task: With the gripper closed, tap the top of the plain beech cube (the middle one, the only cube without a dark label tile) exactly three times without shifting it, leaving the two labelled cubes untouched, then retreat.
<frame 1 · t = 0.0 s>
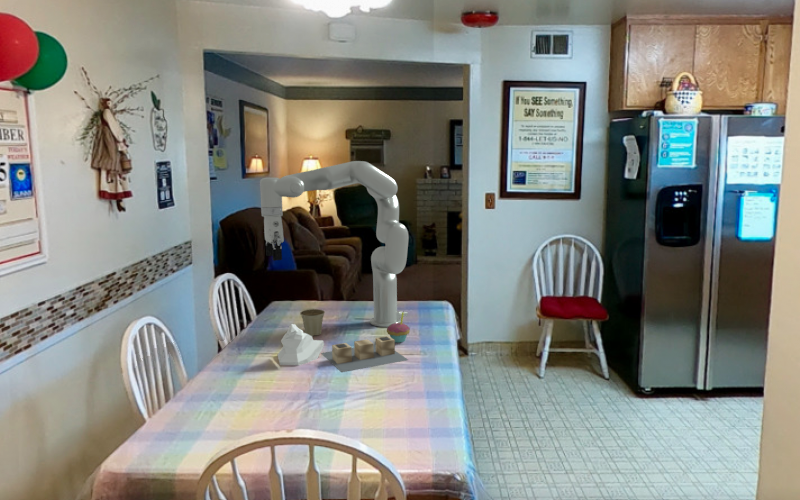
hand: (274, 257, 215), 31 cm above the table, tool pointing down, fingers open, 9 cm apart
cupcake: (398, 342, 217), on the table
digit block b: (342, 360, 196), point 1 cm above the table, touching mat
digit block a: (385, 352, 203), point 1 cm above the table, touching mat
mat: (364, 358, 200), on the table
white faceted lump: (297, 361, 198), on the table
plain block: (364, 356, 200), point 1 cm above the table, touching mat
flower pot: (313, 334, 227), on the table
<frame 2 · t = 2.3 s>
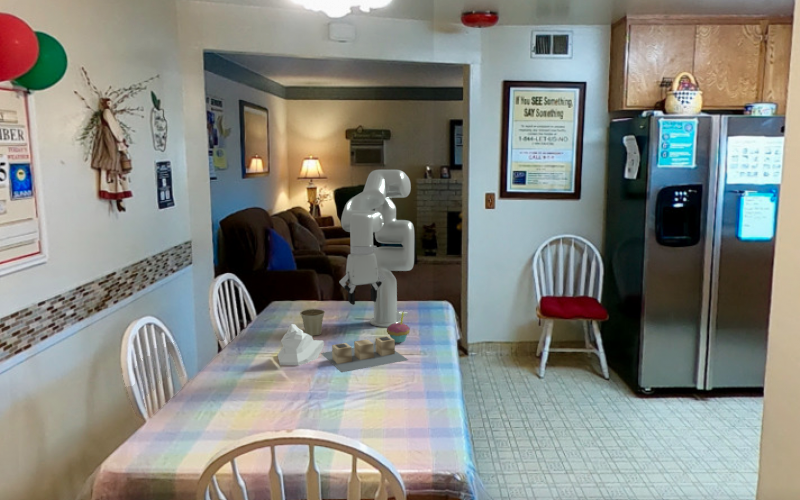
hand: (362, 302, 196), 20 cm above the table, tool pointing down, fingers open, 7 cm apart
nothing on the table moved.
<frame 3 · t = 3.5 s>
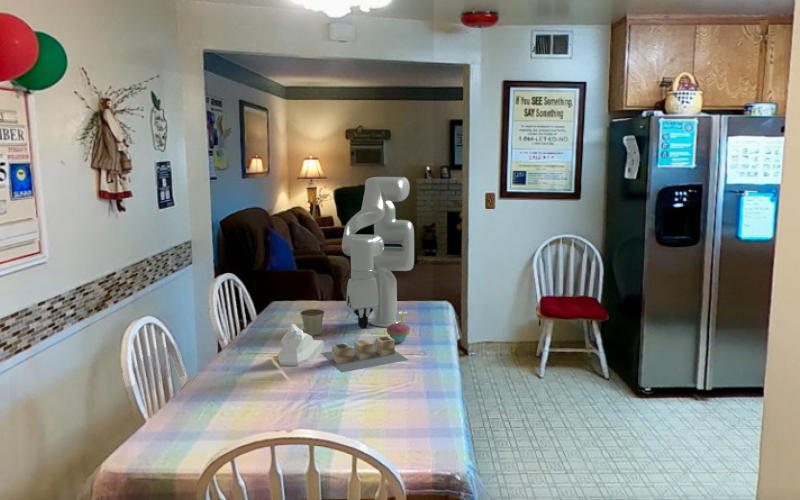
hand: (363, 327, 197), 11 cm above the table, tool pointing down, fingers closed
nothing on the table moved.
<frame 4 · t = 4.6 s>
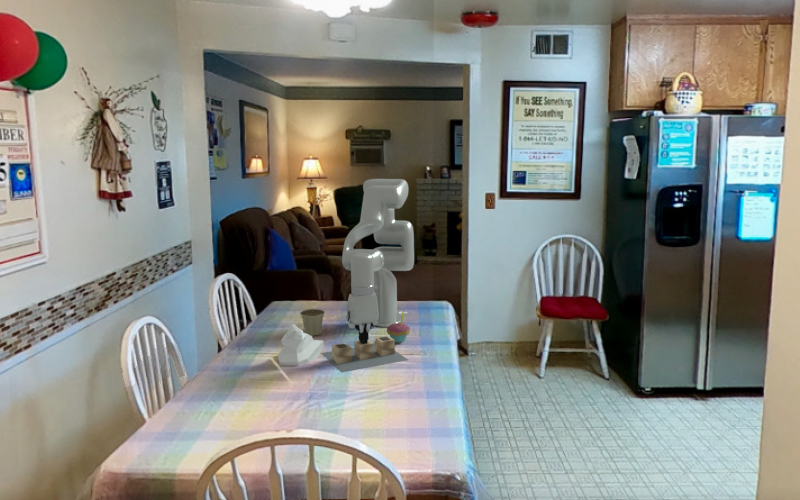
hand: (363, 342, 199), 6 cm above the table, tool pointing down, fingers closed
plain block: (364, 356, 200), point 1 cm above the table, touching gripper, mat
everything else where it was.
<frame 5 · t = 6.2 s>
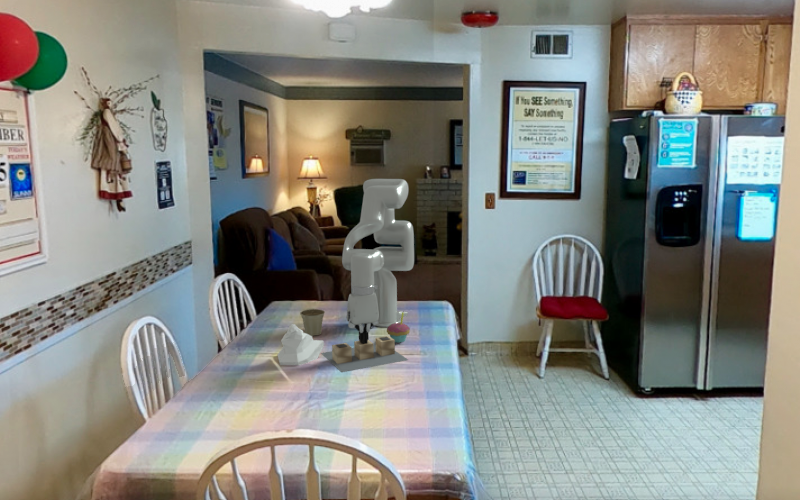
hand: (363, 342, 199), 6 cm above the table, tool pointing down, fingers closed
nothing on the table moved.
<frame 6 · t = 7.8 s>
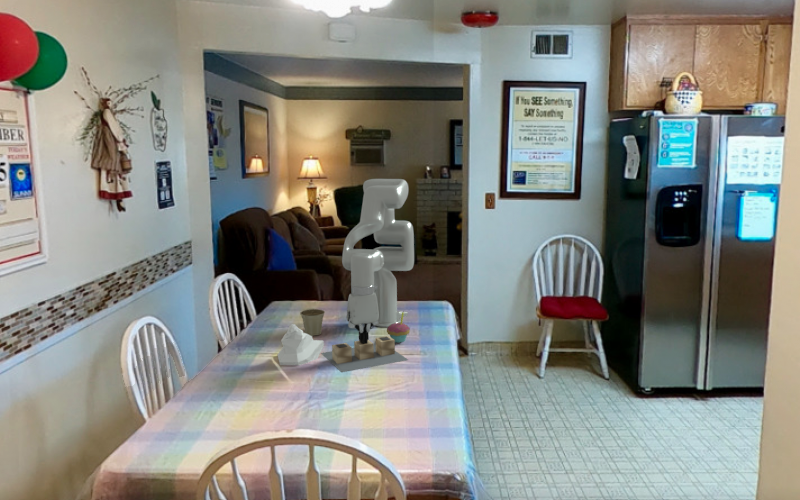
hand: (363, 342, 199), 6 cm above the table, tool pointing down, fingers closed
nothing on the table moved.
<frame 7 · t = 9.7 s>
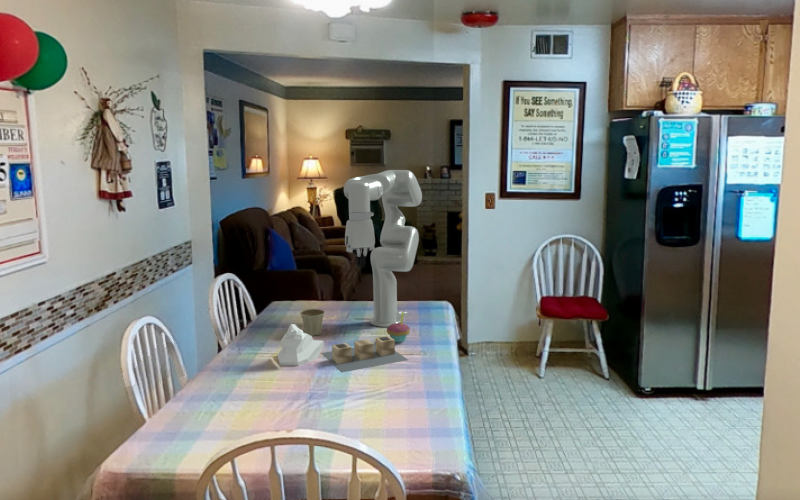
hand: (361, 266, 211), 29 cm above the table, tool pointing down, fingers closed
plain block: (364, 356, 200), point 1 cm above the table, touching mat
everything else where it was.
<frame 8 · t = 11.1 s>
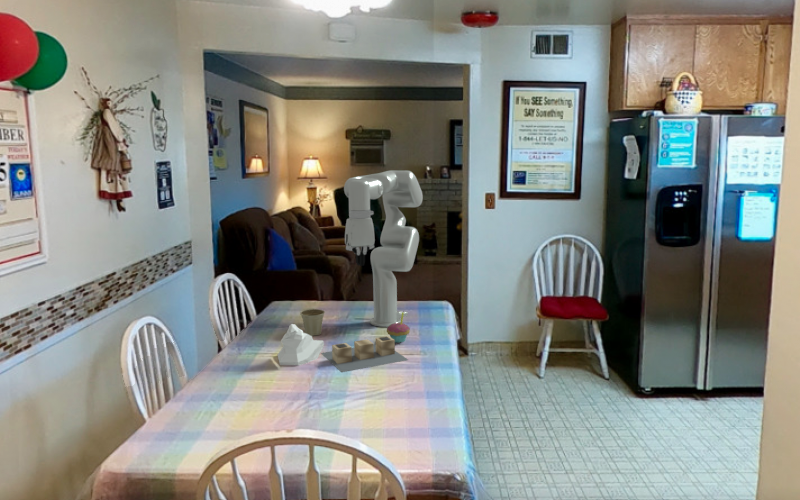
hand: (360, 265, 212), 29 cm above the table, tool pointing down, fingers closed
nothing on the table moved.
at the end: plain block moved 0.0 cm from its start; plain block tilted 0°; digit block a moved 0.0 cm from its start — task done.
